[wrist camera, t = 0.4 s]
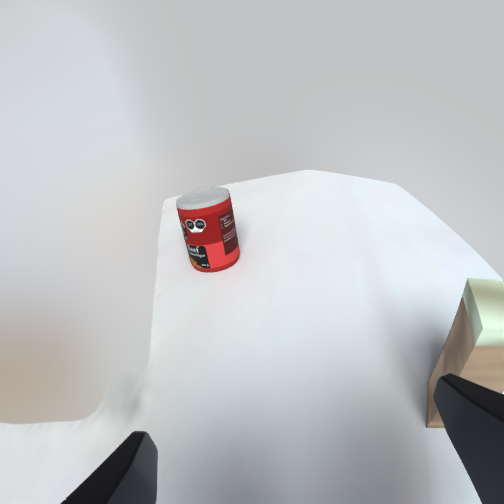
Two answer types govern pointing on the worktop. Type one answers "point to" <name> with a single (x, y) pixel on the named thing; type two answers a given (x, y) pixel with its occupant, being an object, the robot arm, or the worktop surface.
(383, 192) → the worktop surface
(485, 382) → the green and tan block
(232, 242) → the canned food
